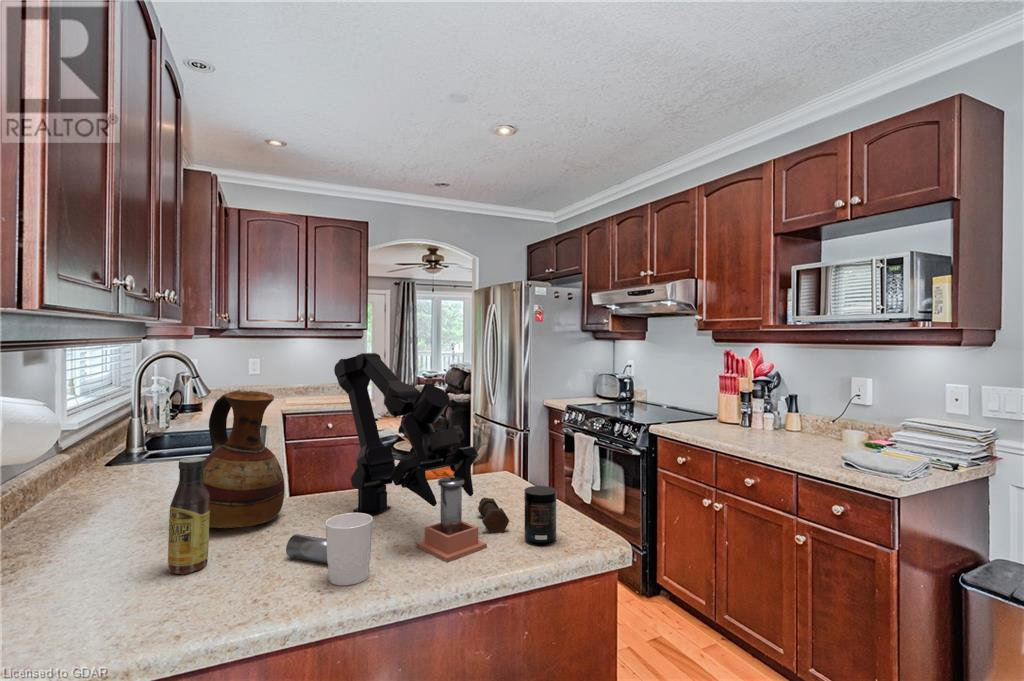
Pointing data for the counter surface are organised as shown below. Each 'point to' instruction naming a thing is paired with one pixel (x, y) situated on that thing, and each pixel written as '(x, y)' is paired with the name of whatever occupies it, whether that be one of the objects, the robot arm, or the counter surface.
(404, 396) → the robot arm
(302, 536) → the pin
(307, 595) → the counter surface
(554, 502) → the supplement container
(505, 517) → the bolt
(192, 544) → the sauce bottle
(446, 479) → the steel pin
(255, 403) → the ceramic pitcher
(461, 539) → the square planter with saucer
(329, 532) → the white cup
